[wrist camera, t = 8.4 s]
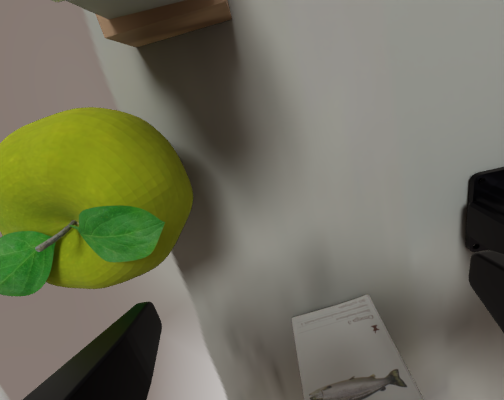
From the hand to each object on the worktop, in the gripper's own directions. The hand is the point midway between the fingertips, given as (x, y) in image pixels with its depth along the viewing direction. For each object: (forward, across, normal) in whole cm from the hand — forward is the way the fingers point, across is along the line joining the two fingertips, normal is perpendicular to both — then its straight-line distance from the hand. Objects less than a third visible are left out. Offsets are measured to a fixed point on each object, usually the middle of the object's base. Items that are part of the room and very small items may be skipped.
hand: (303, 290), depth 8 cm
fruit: (+13, +10, -2) cm, 16 cm away
